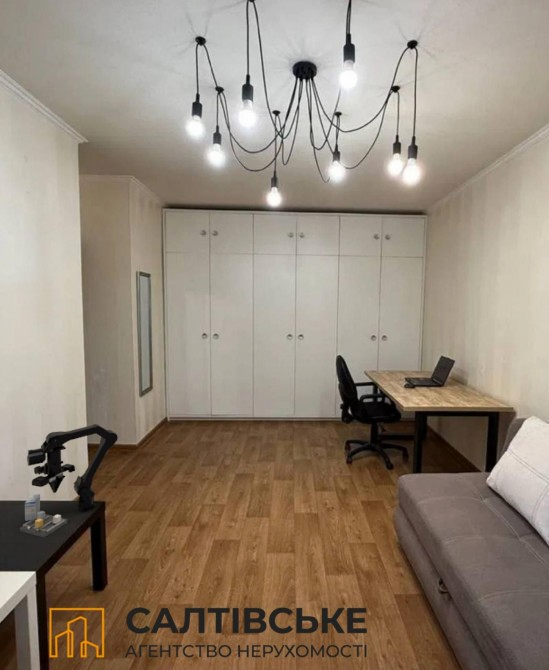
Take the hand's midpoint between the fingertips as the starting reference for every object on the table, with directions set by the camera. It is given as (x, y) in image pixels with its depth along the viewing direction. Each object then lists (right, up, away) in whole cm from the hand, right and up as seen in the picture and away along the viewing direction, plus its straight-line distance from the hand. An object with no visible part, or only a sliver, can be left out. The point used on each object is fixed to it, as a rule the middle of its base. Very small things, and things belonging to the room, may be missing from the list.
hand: (54, 492), depth 171 cm
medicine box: (-11, -12, +2) cm, 17 cm away
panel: (0, -12, -7) cm, 14 cm away
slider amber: (-1, -11, -10) cm, 14 cm away
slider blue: (-4, -10, -3) cm, 12 cm away
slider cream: (+5, -11, -6) cm, 13 cm away
